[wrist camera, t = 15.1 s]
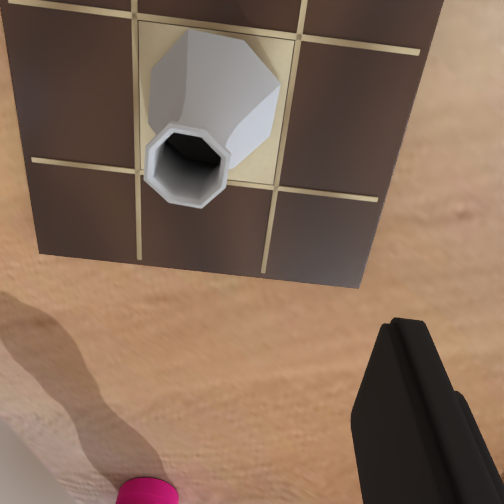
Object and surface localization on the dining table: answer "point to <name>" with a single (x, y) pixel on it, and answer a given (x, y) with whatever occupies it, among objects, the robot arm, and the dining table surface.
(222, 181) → the flask
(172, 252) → the board
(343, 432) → the dining table surface
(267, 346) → the dining table surface
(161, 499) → the pepper mill
